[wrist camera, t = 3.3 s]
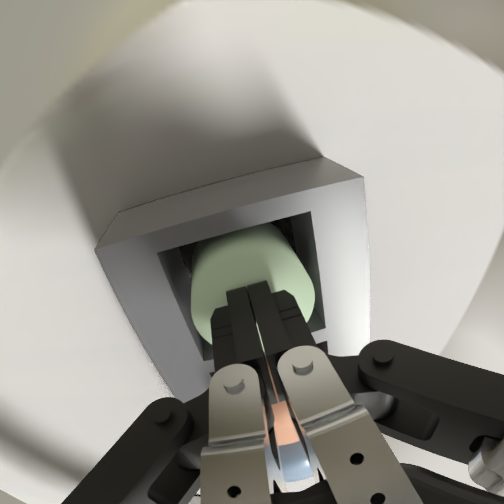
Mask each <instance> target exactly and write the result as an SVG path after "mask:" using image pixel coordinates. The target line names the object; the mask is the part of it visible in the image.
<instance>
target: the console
mask: <svg viewBox="0 0 504 504" xmlns="http://www.w3.org/2000/svg"><path fill="white" fill-rule="evenodd" d="M286 217H290V220H291V226H292V231H293V237H294V242H295V248H296V254H297V257H298V259H299V260H300V262H301V264H302V265H303V267H304V269H305V270H306V272H307V274H308V275H309V277H310V279H311V281H312V284H313V287H314V291H315V302H314V307H313V311H312V314H311V316H310V318H309V320H308V322H307V325H308V327H309V329H310V331H311V334H312V336H313V338H314V340H315V342H316V344H317V346H318V347H319V348H320V349H321V350H322V351H323V352H325V353H327V354H330V355H333V356H355V355H359V353H360V351H361V350H362V348H363V347H365V346H366V345H367V344H369V341H370V263H369V239H368V222H367V208H366V196H365V185H364V177H363V176H361V175H359V174H357V173H355V172H354V171H352V170H350V169H348V168H346V167H344V166H342V165H340V164H338V163H336V162H334V161H332V160H330V159H328V158H326V157H322V158H317V159H312V160H307V161H303V162H298V163H294V164H290V165H285V166H281V167H277V168H272V169H268V170H264V171H260V172H256V173H252V174H248V175H244V176H240V177H236V178H233V179H229V180H225V181H221V182H218V183H214V184H210V185H207V186H203V187H200V188H196V189H193V190H189V191H186V192H182V193H179V194H175V195H172V196H169V197H165V198H162V199H159V200H156V201H152V202H149V203H146V204H143V205H140V206H137V207H134V208H130V209H127V210H124V211H121V212H118V214H117V215H116V217H115V218H114V220H113V221H112V223H111V224H110V226H109V227H108V229H107V230H106V232H105V233H104V235H103V237H102V238H101V240H100V241H99V243H98V244H97V246H96V248H95V249H94V250H95V253H96V255H97V257H98V259H99V261H100V263H101V266H102V268H103V270H104V272H105V274H106V276H107V278H108V280H109V282H110V284H111V286H112V288H113V290H114V292H115V294H116V296H117V298H118V300H119V302H120V304H121V306H122V308H123V310H124V312H125V314H126V316H127V317H128V319H129V321H130V323H131V325H132V327H133V328H134V330H135V332H136V334H137V336H138V337H139V339H140V341H141V343H142V344H143V346H144V348H145V350H146V351H147V353H148V355H149V356H150V358H151V360H152V361H153V363H154V365H155V366H156V368H157V370H158V371H159V373H160V374H161V376H162V378H163V379H164V381H165V382H166V384H167V386H168V387H169V389H170V390H171V392H172V393H173V395H174V396H175V398H176V399H179V400H180V401H182V402H183V403H185V402H187V401H189V400H191V399H193V398H195V397H197V396H199V395H201V394H202V393H204V392H205V391H206V390H207V389H208V388H209V384H210V381H211V379H212V377H213V376H214V374H215V368H214V358H213V347H212V344H210V343H209V342H208V341H206V340H205V339H204V338H203V337H202V336H201V335H200V333H199V332H198V330H197V329H196V327H195V325H194V322H193V319H192V314H191V281H190V279H189V276H188V273H187V271H186V268H185V265H184V263H183V260H182V257H181V254H180V252H179V249H178V247H179V246H182V245H186V244H190V243H193V242H197V241H200V240H204V239H208V238H211V237H215V236H219V235H222V234H226V233H229V232H233V231H237V230H241V229H244V228H248V227H252V226H255V225H259V224H263V223H267V222H271V221H274V220H278V219H282V218H286ZM264 355H265V358H266V354H265V352H264ZM266 359H267V358H266Z"/></svg>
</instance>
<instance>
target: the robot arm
mask: <svg viewBox="0 0 504 504" xmlns="http://www.w3.org/2000/svg"><path fill="white" fill-rule="evenodd" d="M247 287H248V291H249V295H250V299H251V302H252V306H253V310H254V314H255V317H256V321H257V325H258V329H259V332H260V336H261V340H262V343H263V347H264V351H265V354H266V358H267V361H268V365H269V368H270V372H271V375H272V378H273V382H274V385H275V389H276V392H277V395H278V399H279V402H282V401H286V404H287V407H288V410H289V414H290V417H291V421H292V424H293V426H294V429H295V431H296V433H297V436H298V438H299V441H300V443H301V446H302V448H303V451H304V453H305V455H306V458H307V460H308V463H309V465H310V468H311V470H312V473H313V476H314V479H315V482H316V484H315V485H313V486H311V487H309V488H307V489H305V490H303V491H300V492H287V488H286V484H285V480H284V476H283V471H282V465H281V459H280V452H279V446H278V440H277V434H276V427H275V423H274V421H275V418H274V413H273V409H272V406H271V405H272V404H276V403H277V399H276V395H275V392H274V388H273V384H272V381H271V377H270V373H269V370H268V366H267V362H266V358H265V355H264V351H263V347H262V343H261V340H260V336H259V332H258V329H257V325H256V321H255V318H254V315H253V311H252V308H251V304H250V301H249V297H248V294H247V290H246V287H245V286H244V287H240V288H236V289H232V290H229V291H226V297H227V303H228V305H227V306H223V307H219V308H215V310H214V312H213V314H212V316H211V318H210V324H211V331H212V332H211V336H212V347H213V358H214V368H215V374H214V376H213V377H212V379H211V381H210V384H209V388H208V389H207V390H206V391H205V392H204V393H202V394H201V395H199V396H197V397H195V398H193V399H191V400H189V401H187V402H185V403H183V402H182V401H180V400H179V399H176V398H172V397H166V398H161V399H158V400H156V401H154V402H152V403H151V404H150V405H148V406H147V408H146V409H145V410H144V411H143V412H142V413H141V414H140V416H139V417H138V418H137V419H136V420H135V421H134V422H133V424H132V425H131V426H130V427H129V428H128V429H127V430H126V432H125V433H124V434H123V435H122V436H121V437H120V438H119V440H118V441H117V442H116V443H115V444H114V445H113V446H112V448H111V449H110V450H109V451H108V452H107V453H106V454H105V455H104V457H103V458H102V459H101V460H100V461H99V462H98V463H97V465H96V466H95V467H94V468H93V469H92V470H91V471H90V472H89V473H88V475H87V476H86V477H85V478H84V479H83V480H82V481H81V482H80V483H79V485H78V486H77V487H76V488H75V489H74V490H73V491H72V492H71V493H70V495H69V496H68V497H67V498H66V499H65V500H64V501H63V502H62V503H61V504H504V375H502V374H499V373H495V372H492V371H488V370H485V369H482V368H478V367H475V366H471V365H468V364H464V363H461V362H458V361H454V360H451V359H448V358H444V357H441V356H438V355H435V354H432V353H429V352H425V351H422V350H419V349H416V348H413V347H410V346H407V345H403V344H400V343H397V342H394V341H390V340H377V341H373V342H371V343H369V344H367V345H366V346H365V347H363V348H362V350H361V351H360V353H359V355H355V356H333V355H330V354H327V353H325V352H323V351H322V350H321V349H320V348H319V347H318V346H317V344H316V342H315V340H314V338H313V336H312V334H311V331H310V329H309V327H308V325H307V323H306V321H305V318H304V316H303V315H302V312H301V310H300V308H299V305H298V303H297V301H296V299H295V297H294V296H293V295H292V294H290V293H289V292H287V291H286V290H281V291H278V292H274V293H271V291H270V288H269V285H268V283H267V280H265V281H261V282H258V283H254V284H251V285H247ZM382 433H383V434H385V435H388V436H390V437H393V438H395V439H398V440H401V441H403V442H405V443H408V444H410V445H413V446H416V447H418V448H421V449H424V450H426V451H429V452H432V453H435V454H437V455H440V456H443V457H446V458H449V459H452V460H455V461H458V462H461V463H464V464H468V471H469V475H470V477H471V479H472V480H473V481H474V482H475V483H476V484H478V485H480V486H482V487H484V488H485V489H486V490H487V491H488V492H487V491H484V490H481V489H478V488H475V487H472V486H469V485H467V484H464V483H461V482H458V481H455V480H453V479H450V478H448V477H445V476H443V475H440V474H437V473H435V472H432V471H430V470H427V469H425V468H422V467H419V466H416V465H412V464H405V463H399V462H398V460H397V458H396V457H395V455H394V453H393V452H392V450H391V448H390V447H389V445H388V443H387V442H386V440H385V438H384V437H383V435H382ZM199 489H200V495H201V497H199V496H194V495H195V494H196V493H197V491H198V490H199Z"/></svg>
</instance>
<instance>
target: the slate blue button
mask: <svg viewBox="0 0 504 504" xmlns="http://www.w3.org/2000/svg"><path fill="white" fill-rule="evenodd" d="M279 452H280V459H281V465H282V471H283V476H284V480H285V482H293V481H299V480H303V479H306V478H309V477H312V476H313V473H312V470H311V468H310V465H309V463H308V460H307V458H306V455H305V453H304V451H303V448H302V446H301V443H300V441H298V442H294V443H291V444H286V445H280V446H279Z"/></svg>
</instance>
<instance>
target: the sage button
mask: <svg viewBox="0 0 504 504" xmlns="http://www.w3.org/2000/svg"><path fill="white" fill-rule="evenodd" d="M265 280H267V283H268V285H269V288H270V291H271V293H274V292H278V291H281V290H286V291H287V292H289V293H290V294H292V295H293V296H294V297H295V299H296V301H297V303H298V305H299V308H300V310H301V312H302V315H303V316H304V318H305V321H306V323H307V322H308V320H309V318H310V316H311V314H312V311H313V307H314V302H315V291H314V287H313V284H312V281H311V279H310V277H309V275H308V274H307V272H306V270H305V269H304V267H303V265H302V264H301V262H300V260H299V259H298V257H297V255H296V254H295V252H294V250H293V249H292V247H291V245H290V244H289V242H288V240H287V239H286V237H285V236H284V234H283V233H282V232H281V231H280V229H278V228H277V227H276V226H275V225H273V224H272V223H270V222H267V223H263V224H259V225H255V226H252V227H248V228H244V229H241V230H237V231H233V232H229V233H226V234H222V235H219V236H215V237H211V238H208V239H204V240H200V241H198V242H197V244H196V246H195V248H194V251H193V255H192V273H191V314H192V319H193V322H194V325H195V327H196V329H197V330H198V332H199V333H200V335H201V336H202V337H203V338H204V339H205V340H206V341H208V342H209V343H210V344H212V336H211V332H212V331H211V324H210V318H211V316H212V314H213V312H214V310H215V308H219V307H223V306H227V305H228V303H227V297H226V291H229V290H232V289H236V288H240V287H244V286H245V287H246V290H247V294H248V297H249V301H250V304H251V308H252V311H253V315H254V318H255V321H256V317H255V314H254V310H253V306H252V302H251V299H250V295H249V291H248V287H247V285H251V284H254V283H258V282H261V281H265ZM256 325H257V321H256ZM257 329H258V325H257ZM258 332H259V329H258ZM259 336H260V332H259ZM260 340H261V336H260ZM261 343H262V340H261ZM262 347H263V343H262ZM263 351H264V347H263ZM264 352H265V351H264Z"/></svg>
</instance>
